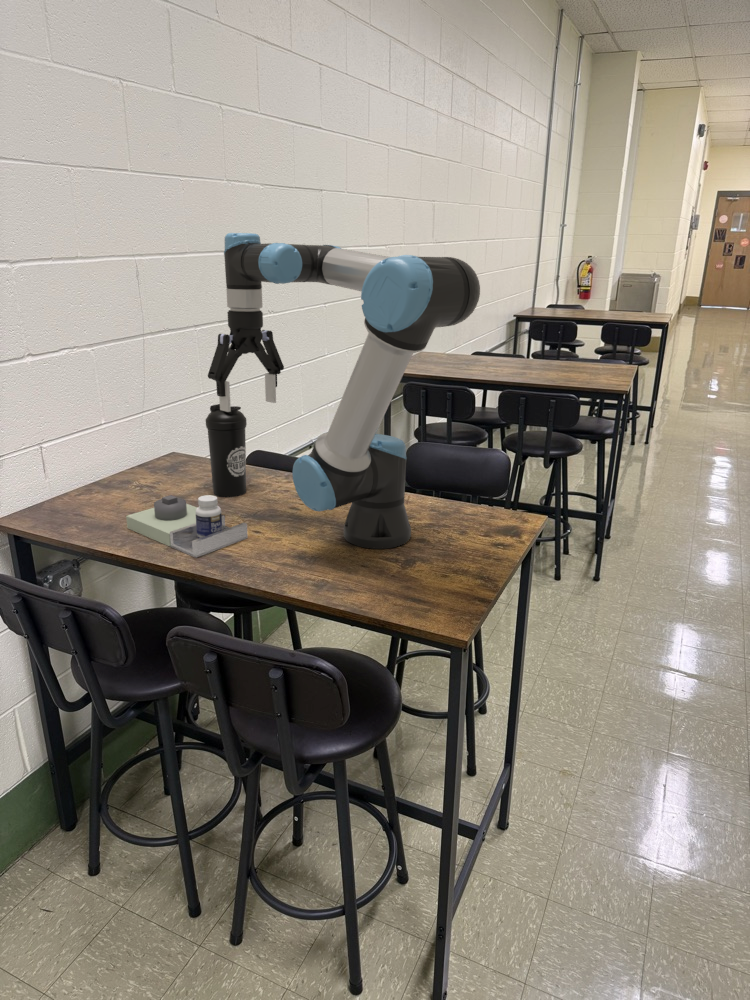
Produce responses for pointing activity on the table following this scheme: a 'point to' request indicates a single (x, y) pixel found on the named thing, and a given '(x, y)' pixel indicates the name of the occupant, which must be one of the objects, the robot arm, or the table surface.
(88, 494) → the table surface
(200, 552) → the grey metal channel
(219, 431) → the water bottle
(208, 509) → the pill bottle
